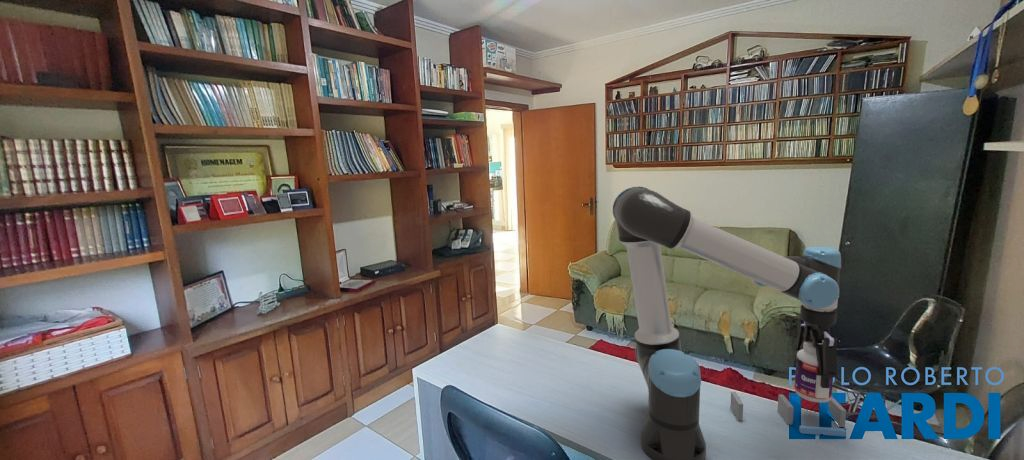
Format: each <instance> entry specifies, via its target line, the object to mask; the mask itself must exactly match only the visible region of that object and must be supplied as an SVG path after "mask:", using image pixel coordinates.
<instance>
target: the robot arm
mask: <svg viewBox="0 0 1024 460" xmlns="http://www.w3.org/2000/svg"><path fill="white" fill-rule="evenodd" d="M612 215H613V217H614V220H615V223H616V227H617V232H618V233H617V234H618V240H619V242H620V244H622V245H623V246H625V247H626V253H627V260H628V266H629V272H630V278H631V284H632V292H633V299H634V303H635V304H634V305H635V310H636V316H637V317H636V318H637V324H638V329H637V330H635V333H634V339H635V350H634V351H635V352H634V354H635V359H636V362H637V364H638V366H639V368H640V370H641V373H642V375H643V377H644V381H645V382H646V383H645V384H646V385H647V390H648V391H647V392H648V403H647V404H648V405H647V406H648V407H647V408H648V409H647V410H648V411H647V412H648V414H647V416H646V419H645V421H644V424H643V426H642V429H641V432H640V445H641V448H642V450H643V452H644V453H645V454H646V455H647V456H648V457H649V458H650V459H652V460H705V459H706V457H707V446H706V445H707V444H706V440H705V437H704V435H703V431H702V429H701V425H700V402H701V401H700V399H701V385H702V376H701V369H700V366H699V363H698V362H697V360H696V359H695V358H694V357H692V356H691V355H690V354H686V353H685V352H684V351H682V345H681V337H680V332H679V330H678V329H677V328H675V327H673V323H672V317H671V316H672V315H671V310H670V309H671V308H670V306H669V305H670V303H669V296H668V289H667V284H666V283H667V281H666V276H665V269H664V262H663V261H664V260H663V254H662V248H661V246H663V247H666V248H668V249H670V250H674V249H677V248H679V249H681V250H684V251H686V252H688V253H691V254H693V255H695V256H697V257H700V258H702V259H703V260H704V259H705V260H707V261H709V262H712V263H713V264H715V265H718V266H720V267H723V268H725V269H728V270H730V271H731V272H735V273H736V274H739V275H741V276H744V277H746V278H748V279H750V280H753V282H754V283H755V284H756V285H757V286H761V287H769V288H771V289H773V290H776V291H778V292H780V293H782V294H784V295H785V296H786V295H787V296H789V297H790V298H793V299H796V300H797V301H800V303H801V305H800V310H799V315H800V316H799V319H798V330H797V335H796V343H795V347H794V348H795V349H794V350H795V351H796V352H798V351H800V350H802V349H803V344H804V342H806V341H812V342H813V346H814V347H815V348H816V355H817V361H818V368H819V373H816V375H817V377H816V391H815V397H816V398H826V399H829V387H830V377H833V378H837V377H838V366H837V365H838V358H837V357H838V356H837V345H838V338H837V337H832V336H831V332H830V331H831V330H830V327H833V326H834V325H836V324H837V316H838V311H837V308H838V304H839V303H838V301H839V298H840V280H841V279H840V278H841V269H842V254H841V252H840V251H839V250H838V249H836V248H833V247H829V246H809V247H808V246H807V247H806V248H804V251H803V254H802V255H798V256H794V255H793V256H788V255H787V256H783V255H781V254H779V253H775V252H774V251H771V250H769V249H767V248H764V247H762V246H760V245H757V244H756V243H754V242H752V241H751V242H750V241H748V240H746V239H743V238H741V237H739V236H737V235H734V234H732V233H729V232H727V231H725V230H723V229H721V228H718V227H717V226H716V227H715V226H714V225H711V224H709V223H707V222H705V221H703V220H699V219H698V218H695V217H694V216H693V214H692V212H691V211H690V210H688V209H686V208H684V207H682V206H680V205H678V204H676V203H674V201H671V200H669V199H668V198H666V197H665V196H663V195H662V194H661V193H660V192H657V191H654V190H651V189H649V188H647V187H644V186H639V185H638V186H632V187H628V188H625V189H623V190H622V191H621V192H619V193H618V194H617V196H616V197H615V199H614V201H613V204H612ZM817 343H823V344H817Z"/></svg>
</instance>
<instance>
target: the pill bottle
mask: <svg viewBox="0 0 1024 460" xmlns="http://www.w3.org/2000/svg"><path fill="white" fill-rule="evenodd" d="M817 344H823V343H817ZM816 373H819V368H818V361H817V355H816V348H815V347H814V346H813V342H812V341H806V342H804V344H803V349H802V350H800V351H797V353H796V361H795V373H794V374H795V376H794V387H793V389H794V392H795V393H796V394H797V396H799V397H800V398H802V399H804V400H806V401H809V402H812V403H820V404H823V403H828V401H830V399H831V397H833V384H834V383H833V382H834V377H830V387H829V399H826V398H816V397H815V391H816V377H817V375H816Z"/></svg>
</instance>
